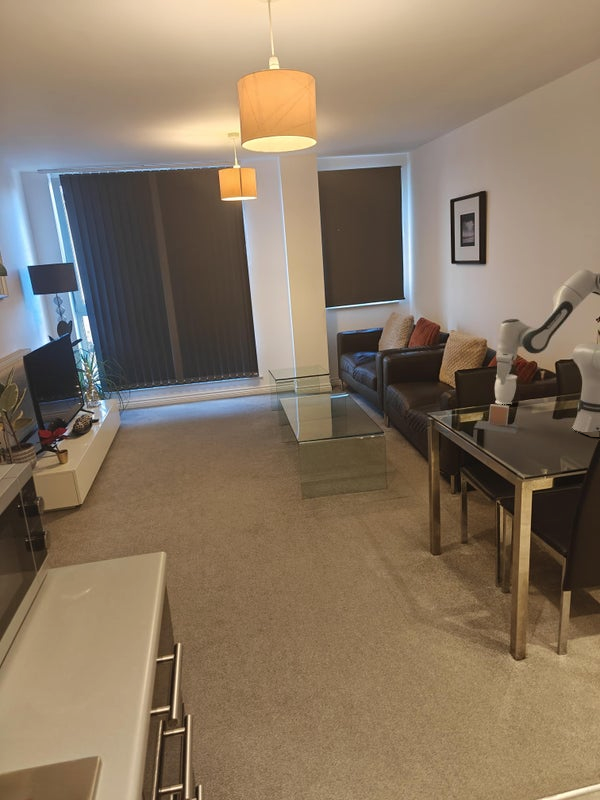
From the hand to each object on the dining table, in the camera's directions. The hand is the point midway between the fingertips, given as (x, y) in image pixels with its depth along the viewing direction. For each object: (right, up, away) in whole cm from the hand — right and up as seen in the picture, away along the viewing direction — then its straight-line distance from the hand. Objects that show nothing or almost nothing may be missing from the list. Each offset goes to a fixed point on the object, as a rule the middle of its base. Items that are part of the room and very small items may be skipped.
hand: (502, 384), depth 247 cm
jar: (+13, -9, +33) cm, 37 cm away
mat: (-4, -20, -3) cm, 21 cm away
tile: (-2, -19, 0) cm, 19 cm away
